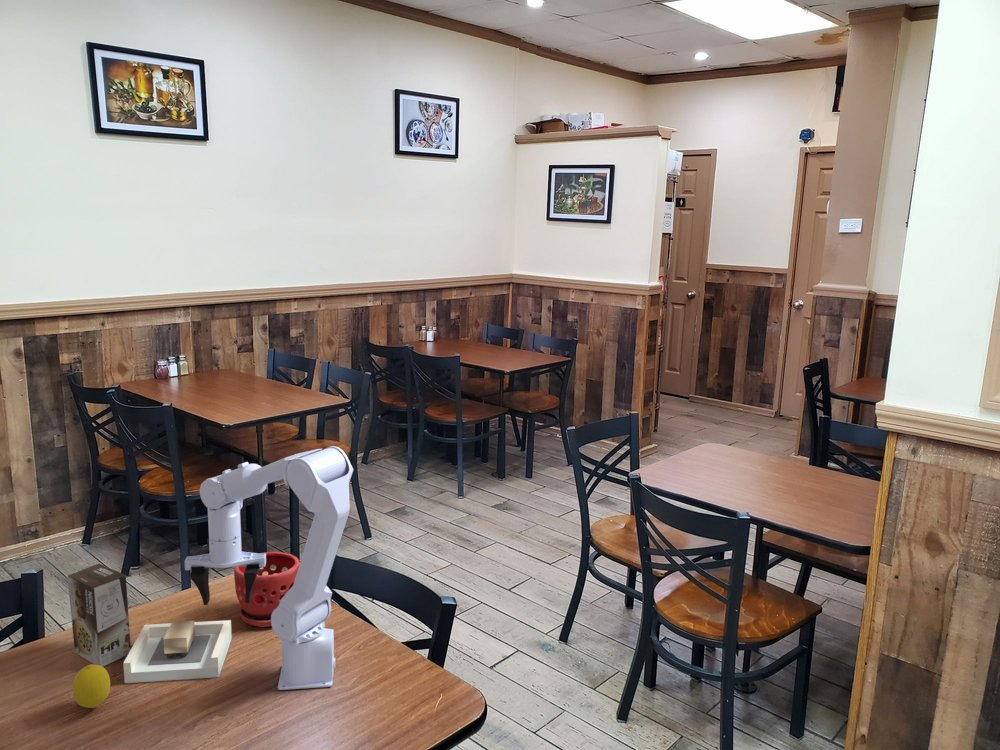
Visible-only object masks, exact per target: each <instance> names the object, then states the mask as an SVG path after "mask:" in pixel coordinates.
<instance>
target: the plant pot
mask: <svg viewBox="0 0 1000 750" xmlns="http://www.w3.org/2000/svg"><path fill="white" fill-rule="evenodd" d="M259 554H266V565H265V567H262V568H261V567H260V568H259V571H258V574H257V576H256V578H255V581H254V583H253V587H252V592H251V599H250V602H249V603H246V602H245V592H246V587H245V578H244V572H245V569H246V567H247V566H240V567H233V568H234V570H233V576H234V578H233V579H234V589H235V593H236V597H237V600H238V602H239V605H240V609H239V617H240V618H241V620H242V621H243V622H244V623H246V624H247V625H250V626H254V627H272V625H271V615H272V612H273V611H274V610H275V609H276V608H277V607H278V606H279V604H280V600H281V599H282V598H283V597H284V595H285V594H286V593H287V592H288V591H289V590H290V589H291V587H292V586H293V585H294V581H295V578H296V575H297V571H298V568H299V565H300V560H299V558H298V557H297V556H295V555H293V554H291V553H288V552H280V551H268V552H260V553H259ZM271 566H276V567H275V569H271ZM283 568H286V569H287V570H285V571H283ZM264 572H265V573H268V574H267V575H263V573H264Z"/></svg>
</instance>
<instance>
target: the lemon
mask: <svg viewBox="0 0 1000 750" xmlns="http://www.w3.org/2000/svg"><path fill="white" fill-rule="evenodd" d="M110 690H111V678H110V675H109V673H108V671H107V669H106V668H104V666H103V667H102V666H100V665H95V664H93V663H92V664H91V663H90V664H88V665H86V666H84V667H82V668H81V669H80V670H79V671H78V672H77V673H76V675H75V677H74V680H73V683H72V694H73V698H74V700H75V701H76V703H77V704H78V705H79V706H80V707H82V708H89V709H90V708H91V709H95V708H96V707H97V706H99V705H101V704H102V703H103V702H104V701H105V700H106V699H107V698H108V696H109V693H110Z"/></svg>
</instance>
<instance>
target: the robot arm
mask: <svg viewBox="0 0 1000 750" xmlns="http://www.w3.org/2000/svg"><path fill="white" fill-rule="evenodd" d="M353 472H354V468H353V466H352V464H351V461H350V459H349V458H348V455H347V454H346V453H345V451H344V450H343V449H341V448H340V447H338V446H335V445H332V446H328V447H326V448H324V449H323V448H317V449H312V450H307V451H303V452H299V453H295V454H292V455H289V456H286V457H283V458H281V459H279V460H276V461H274V462H271V463H269V464H267V465H264V466H261V465H259V464H257V463H249V462H248V461H245V462H243V463H239V464H238V465H237V468H235V469H230V468H229V469H225V470H223V471H222V472H221V473H222V474H220V475H216V476H213V477H209V478H206V479H205V480H204V481H202V482H201V484H200V487H199V496H200V499H201V502H202V503H203V504H204V506H205V507H206V508H207V518H208V519H207V523H208V545H209V546H208V548H209V553H204V554H198V555H191V556H190V555H188V556H186V558H185V560H184V570H185V571H190V574H189V577H190V579H191V581H192V582H193V583H194V585H195V586H196V588H197V590H198V591H199V593H200V596H201V598H202V603H203V605H204V606H208V604H209V602H210V601H211V599H210V597H211V593H210V584H209V583H210V581H209V580H210V579H209V574H210V573H209V569H211V568H212V569H213V568H214V569H215V568H216V569H225V568H226V569H227V568H234V567H240V566H247V567H246V569H245V572H244V578H245V587H246V592H245V602H246V603H249V602H250V599H251V592H252V587H253V583H254V581H255V578H256V576H258V571H259V568H260V569H261V568H264V567H265V565H266V554H259V553H257V552H249V551H248V552H247V551H242V527H241V526H242V525H241V509H242V508H243V505H244V504H243V501H244V500H246V499H248V498H251V497H255V496H257V495H261V494H262V493H263V492H265V490H266V489H267V488H268V484H272V483H274V482H278V481H281V480H283V482H284V485H285V486H287V487H289V488H290V489H291V490H292V491H293V493H294V494H295V495H296V497H297V498H298V499H299V501H300V502H301V503H302V504H303V506H304V507H305V508H306V510H307V511H308V512H311V513H314V514H313V519H312V522H311V526H310V528H309V532H308V535H307V538H306V542H305V544H304V548H303V552H302V556H301V559H300V560H299V564H300V565H299V568H298V571H297V575H296V578H295V581H294V585H293V586H292V587H291V589H290V590H289V591H288V592H287V593H286V594H285V595H284V597H283V598H282V599H281V600H280V604H279V606H278V607H277V608H276V609H275V610H274V611H273V612H272V615H271V625H272V626H271V629H272V631H273V632H274V634H275V635H276V637H277V638H278V639H280V640H281V670H280V675H279V679H278V685H277V690H279V691H285V690H286V691H287V690H298V689H299V690H300V689H313V688H314V689H315V688H328V687H333V682H334V679H333V678H334V670H335V669H336V657H335V636H334V635H335V632H334V631H335V630H334V628H325V625H326V622H325V621H326V620H327V619H329V617H330V616H331V614H332V605H331V599H332V597H333V596H332V595H333V592H332V590H331V589H330V588H329V587H328V585H327V583H328V581H329V577H330V574H331V570H332V569H333V565H334V563H335V562H334V561H335V559H336V555H337V552H338V548H339V545H340V543H341V539H342V536H343V533H344V530H345V527H346V524H347V521H348V517H349V515H350V511H351V509H350V508H351V505H350V482H351V478H352V476H353Z"/></svg>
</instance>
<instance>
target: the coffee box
mask: <svg viewBox="0 0 1000 750" xmlns="http://www.w3.org/2000/svg"><path fill="white" fill-rule="evenodd" d="M67 585H68V596H69V605H70V606H69V608H70V613H71V614H70V616H71V626H72V627H71V628H72V638H73V649H74V654H76V653H77V654H76V655H78V656H79V655H80V656H79V657H81V658H83V659H85V660H86V661H88V662H90V664H91V663H92V665H100V666H102V667H103V668H104V667H105V666H107V665H109V664H112V663H114V662H116V661H118V660H120V659H122V658H126V657H127V656H128V654H129V652H130V650H131V648H132V646H131V631H130V630H131V629H130V617H129V604H128V603H129V602H128V601H129V600H128V588H127V587H128V586H127V575H126V574H124V573H123V572H119V571H117V570H115V569H114V568H110V567H108V566H105V564H102V563H97V564H93V565H91V566H88V567H87V568H86V567H85V568H84V569H81V570H78V571H76V572H73V573H70V574H68V575H67Z"/></svg>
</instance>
